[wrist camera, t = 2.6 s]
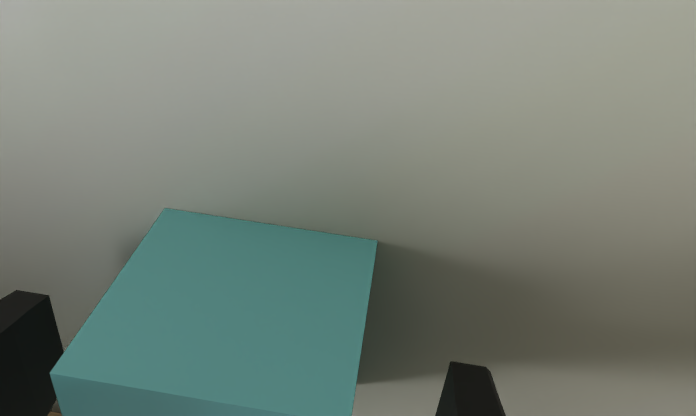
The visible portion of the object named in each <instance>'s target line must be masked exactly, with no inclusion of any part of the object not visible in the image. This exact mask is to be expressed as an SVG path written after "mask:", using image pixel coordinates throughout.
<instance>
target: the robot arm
mask: <svg viewBox="0 0 696 416" xmlns="http://www.w3.org/2000/svg"><path fill="white" fill-rule="evenodd" d="M63 353H64V352H63V348H62V344H61V340H60V336H59V332H58V329H57V325H56V321H55V317H54V313H53V310H52V306H51V302H50V298H49V295H43V294H37V293H30V292H24V291H18V290H16V291H14V292H13V293H11V294H9V295H8V296H6V297H4V298H3V299H1V300H0V416H48V414H49V412H50V410H51V408H52V406H53V404H54V402H55V400H56V398H57V397H56V393H55V390H54V387H53V383H52V380H51V376H50V372H51V370H52V369H53V367H54V366H55V365H56V363H57V362H58V360H59V359H60V357H61V356H62V355H63ZM435 416H506V415H505V413H504V410H503V407H502V405H501V402H500V399H499V396H498V393H497V390H496V387H495V384H494V381H493V378H492V375H491V372H490V371H489V370H488V369H487V367H482V366H476V365H470V364H464V363H458V362H452V361H451V362H450V365H449V369H448V372H447V376H446V380H445V383H444V387H443V390H442V394H441V397H440V401H439V405H438V408H437V412H436V415H435Z"/></svg>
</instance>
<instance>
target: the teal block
mask: <svg viewBox="0 0 696 416" xmlns="http://www.w3.org/2000/svg"><path fill="white" fill-rule="evenodd" d="M377 242H378V241H376V240H370V239H363V238H357V237H350V236H344V235H337V234H331V233H324V232H318V231H311V230H305V229H298V228H292V227H285V226H278V225H272V224H265V223H259V222H252V221H246V220H239V219H233V218H226V217H220V216H213V215H207V214H200V213H194V212H187V211H180V210H174V209H167V208H165V209H164V210H163V211H162V213H161V214H160V216H159V217H158V219H157V220H156V221H155V223H154V224H153V226H152V227H151V229H150V230H149V232H148V233H147V234H146V236H145V237H144V239H143V240H142V242H141V243H140V244H139V246H138V247H137V249H136V250H135V252H134V253H133V254H132V256H131V257H130V259H129V260H128V262H127V263H126V264H125V266H124V267H123V269H122V270H121V272H120V273H119V274H118V276H117V277H116V279H115V280H114V282H113V283H112V284H111V286H110V287H109V289H108V290H107V292H106V293H105V294H104V296H103V297H102V299H101V300H100V302H99V303H98V304H97V306H96V307H95V309H94V310H93V312H92V313H91V315H90V316H89V317H88V319H87V320H86V322H85V323H84V325H83V326H82V327H81V329H80V330H79V332H78V333H77V335H76V336H75V337H74V339H73V340H72V342H71V343H70V345H69V346H68V347H67V349H66V350H65V352H64V353H63V355H62V356H61V357H60V359H59V360H58V362H57V363H56V365H55V366H54V367H53V369H52V370H51V372H50V376H51V380H52V383H53V387H54V390H55V393H56V397H57V400H58V404H59V407H60V410H61V414H62V416H352V409H353V402H354V396H355V389H356V382H357V375H358V369H359V362H360V355H361V349H362V342H363V335H364V329H365V322H366V315H367V309H368V302H369V295H370V288H371V282H372V275H373V268H374V262H375V255H376V248H377Z"/></svg>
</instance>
